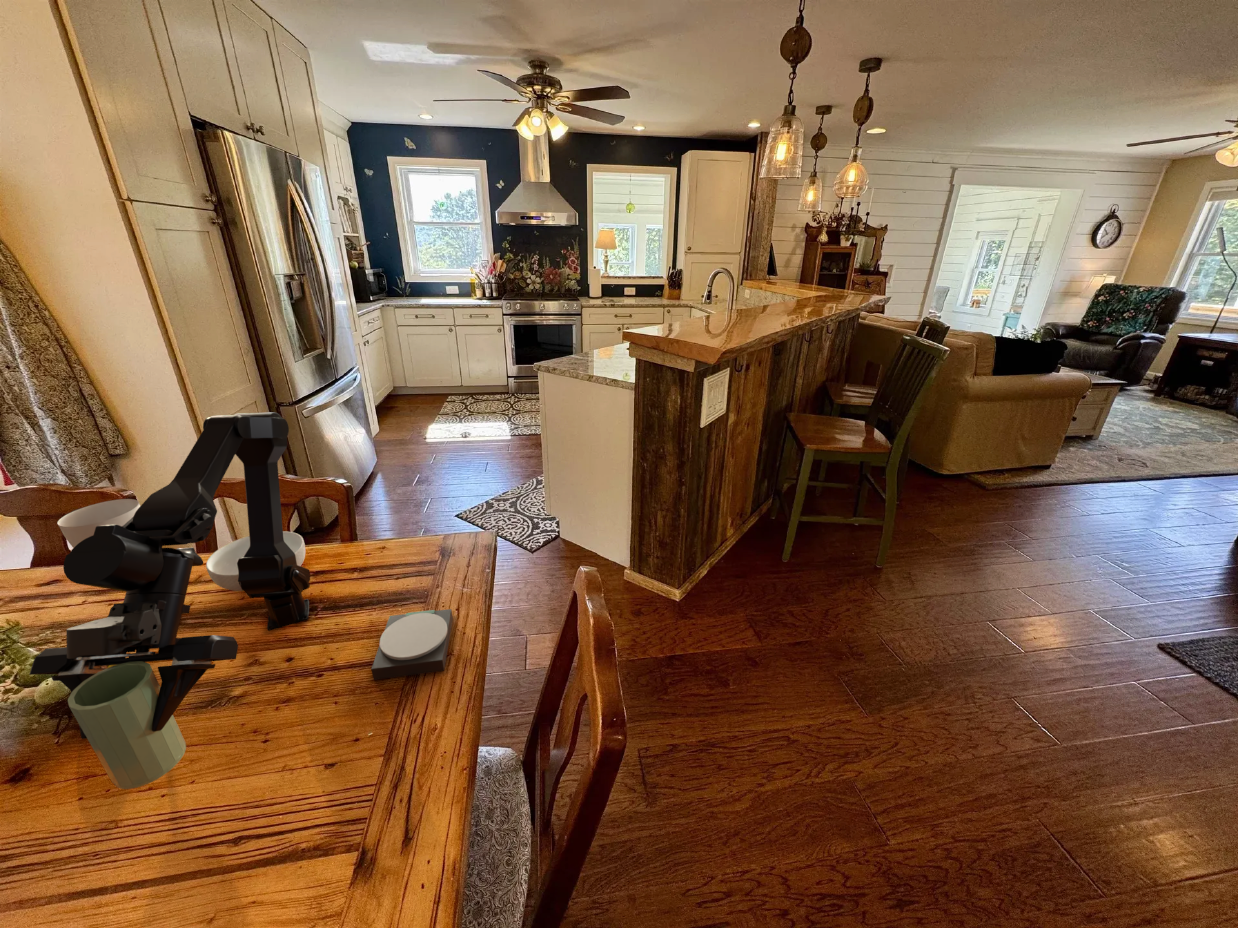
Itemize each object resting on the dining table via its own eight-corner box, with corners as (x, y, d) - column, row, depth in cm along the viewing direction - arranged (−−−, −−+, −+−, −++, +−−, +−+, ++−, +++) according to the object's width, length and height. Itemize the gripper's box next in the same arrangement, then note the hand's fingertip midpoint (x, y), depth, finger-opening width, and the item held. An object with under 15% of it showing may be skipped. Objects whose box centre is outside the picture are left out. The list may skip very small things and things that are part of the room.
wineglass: (100, 630, 90) (45, 520, 81) (164, 598, 98) (120, 495, 89) (130, 644, 86) (75, 531, 78) (193, 610, 95) (151, 504, 86)
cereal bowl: (290, 600, 98) (281, 570, 95) (197, 608, 95) (185, 578, 93) (323, 553, 114) (316, 527, 111) (243, 559, 111) (234, 532, 108)
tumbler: (123, 750, 62) (82, 673, 57) (191, 728, 65) (158, 653, 60) (103, 799, 56) (56, 719, 51) (179, 773, 60) (141, 694, 54)
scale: (391, 625, 92) (388, 613, 91) (452, 618, 94) (451, 606, 93) (373, 680, 80) (370, 666, 79) (444, 670, 82) (441, 657, 81)
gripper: (5, 594, 54) (-54, 757, 48) (194, 581, 56) (160, 734, 51) (93, 605, 64) (54, 740, 58) (250, 593, 67) (227, 722, 61)
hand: (122, 734), depth 57 cm, fingers closed on tumbler, 7 cm apart
